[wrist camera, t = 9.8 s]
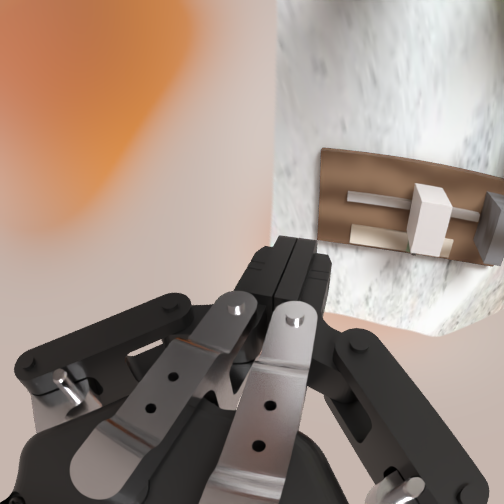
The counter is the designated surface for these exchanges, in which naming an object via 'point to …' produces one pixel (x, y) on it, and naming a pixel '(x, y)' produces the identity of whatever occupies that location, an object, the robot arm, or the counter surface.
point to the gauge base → (408, 204)
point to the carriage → (428, 220)
